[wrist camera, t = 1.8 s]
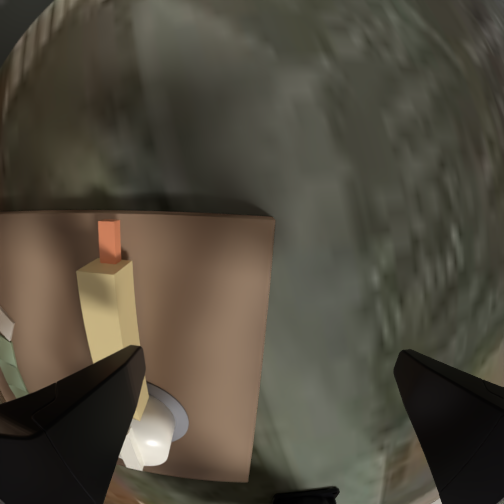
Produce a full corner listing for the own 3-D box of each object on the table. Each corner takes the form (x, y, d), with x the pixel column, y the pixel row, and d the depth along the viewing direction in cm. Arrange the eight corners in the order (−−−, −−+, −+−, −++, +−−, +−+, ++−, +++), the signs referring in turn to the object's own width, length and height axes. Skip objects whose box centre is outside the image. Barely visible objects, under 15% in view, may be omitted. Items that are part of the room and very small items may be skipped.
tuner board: (272, 216, 13) (275, 220, 12) (247, 471, 18) (248, 484, 17) (-35, 213, 12) (-47, 216, 11) (25, 419, 17) (19, 428, 16)
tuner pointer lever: (178, 441, 15) (171, 478, 12) (116, 429, 15) (102, 462, 12) (160, 219, 12) (133, 233, 8) (75, 217, 11) (34, 230, 8)
